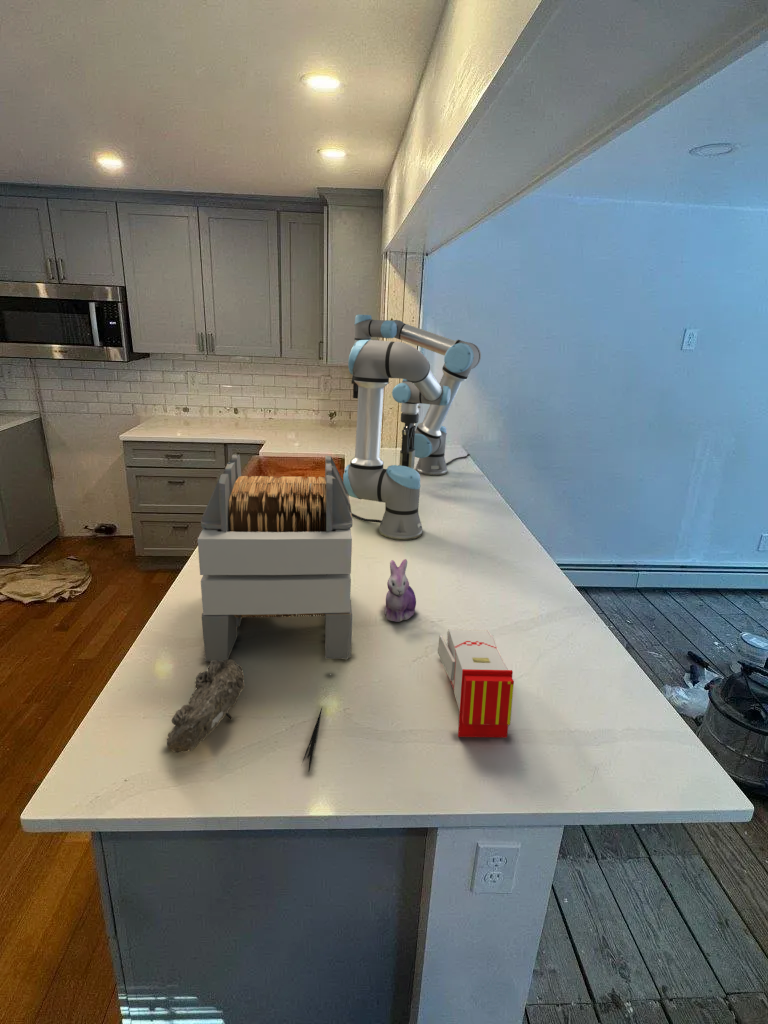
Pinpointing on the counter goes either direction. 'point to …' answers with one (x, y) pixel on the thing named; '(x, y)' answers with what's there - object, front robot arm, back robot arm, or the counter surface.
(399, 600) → the figurine
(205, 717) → the fossil
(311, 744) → the feather
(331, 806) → the counter surface
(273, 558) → the record storage crate
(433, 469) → the back robot arm
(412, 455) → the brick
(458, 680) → the toy
